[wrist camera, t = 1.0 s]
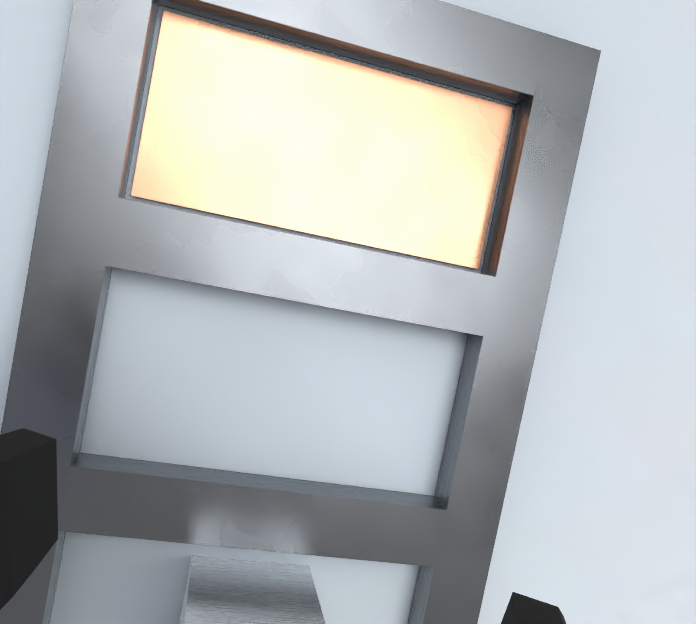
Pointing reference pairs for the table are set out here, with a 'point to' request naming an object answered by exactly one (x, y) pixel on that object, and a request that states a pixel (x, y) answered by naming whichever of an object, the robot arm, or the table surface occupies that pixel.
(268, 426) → the table surface
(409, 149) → the grey window frame
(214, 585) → the grey metal block
